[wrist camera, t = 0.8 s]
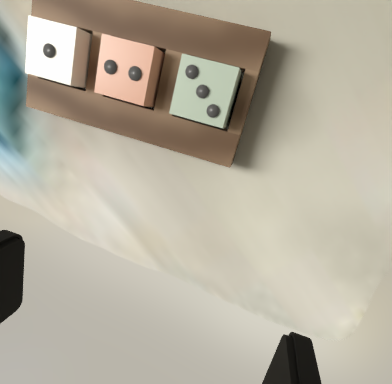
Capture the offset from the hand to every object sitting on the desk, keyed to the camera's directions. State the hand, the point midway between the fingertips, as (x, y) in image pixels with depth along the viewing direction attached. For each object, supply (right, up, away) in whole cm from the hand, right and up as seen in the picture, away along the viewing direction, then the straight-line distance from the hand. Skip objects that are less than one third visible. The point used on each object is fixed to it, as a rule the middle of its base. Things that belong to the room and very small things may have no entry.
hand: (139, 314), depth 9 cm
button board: (-4, +16, +20) cm, 26 cm away
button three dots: (+3, +13, +17) cm, 22 cm away
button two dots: (-4, +16, +18) cm, 24 cm away
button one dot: (-11, +18, +19) cm, 29 cm away
